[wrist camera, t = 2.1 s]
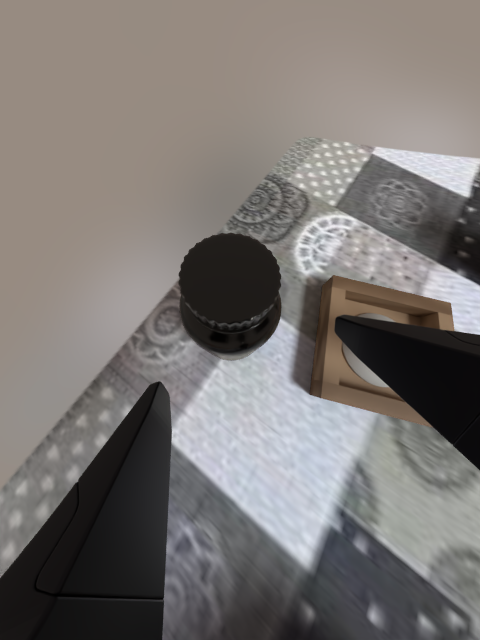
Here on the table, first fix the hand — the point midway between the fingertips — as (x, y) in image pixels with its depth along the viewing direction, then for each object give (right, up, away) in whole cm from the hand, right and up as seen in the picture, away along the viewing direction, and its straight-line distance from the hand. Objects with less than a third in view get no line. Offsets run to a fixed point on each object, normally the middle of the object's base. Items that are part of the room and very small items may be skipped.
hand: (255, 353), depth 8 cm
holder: (+14, -2, +11) cm, 18 cm away
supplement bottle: (-2, 0, +11) cm, 11 cm away
